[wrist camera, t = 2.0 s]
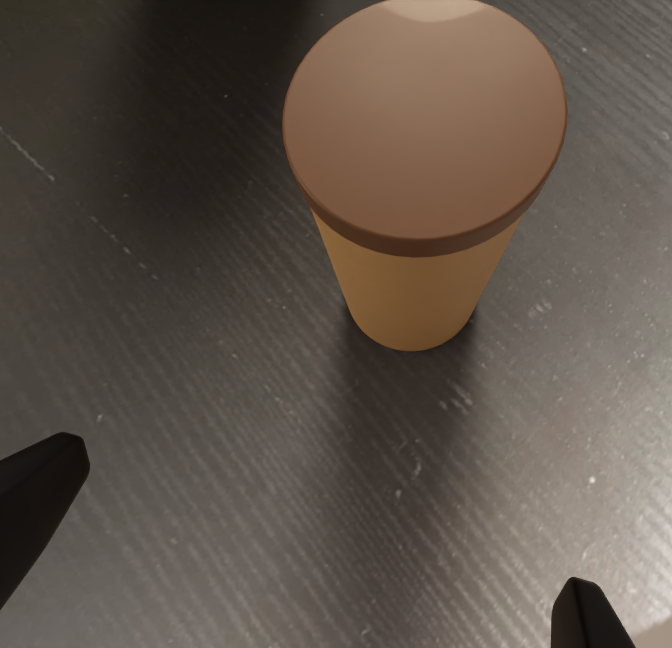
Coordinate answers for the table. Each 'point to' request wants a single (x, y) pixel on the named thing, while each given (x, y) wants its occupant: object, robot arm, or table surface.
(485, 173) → the canister
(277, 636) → the table surface
